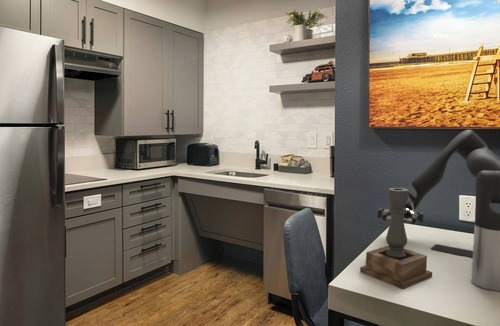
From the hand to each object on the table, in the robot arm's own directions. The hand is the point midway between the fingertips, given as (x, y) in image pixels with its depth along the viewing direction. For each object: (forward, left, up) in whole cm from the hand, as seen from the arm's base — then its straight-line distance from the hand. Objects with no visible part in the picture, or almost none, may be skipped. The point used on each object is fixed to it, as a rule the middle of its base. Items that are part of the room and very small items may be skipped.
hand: (398, 219), depth 120 cm
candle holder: (-3, +5, -14) cm, 16 cm away
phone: (-3, -30, -17) cm, 35 cm away
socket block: (-3, +6, -16) cm, 17 cm away
